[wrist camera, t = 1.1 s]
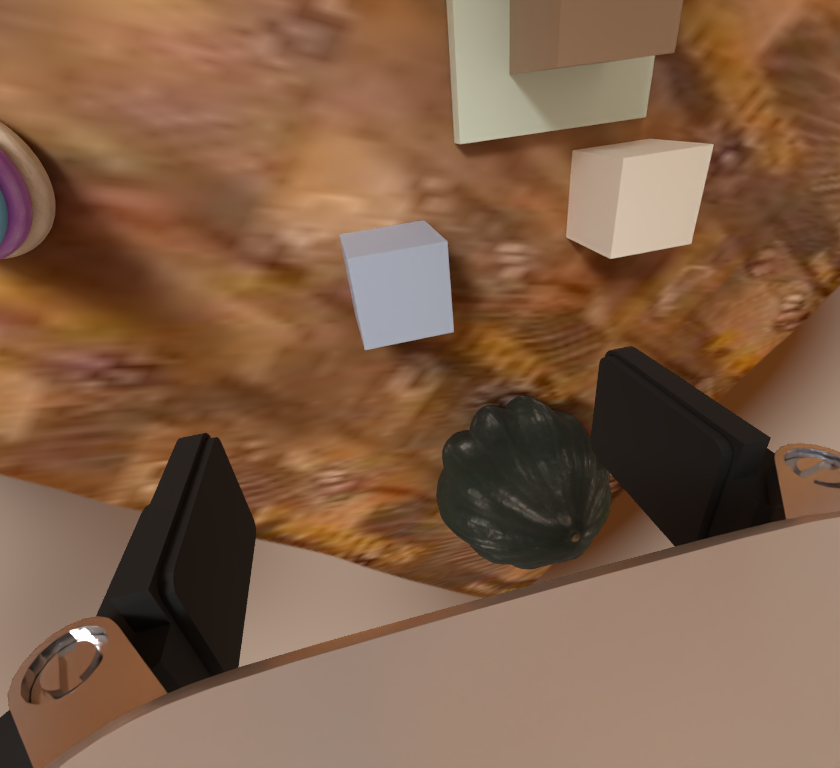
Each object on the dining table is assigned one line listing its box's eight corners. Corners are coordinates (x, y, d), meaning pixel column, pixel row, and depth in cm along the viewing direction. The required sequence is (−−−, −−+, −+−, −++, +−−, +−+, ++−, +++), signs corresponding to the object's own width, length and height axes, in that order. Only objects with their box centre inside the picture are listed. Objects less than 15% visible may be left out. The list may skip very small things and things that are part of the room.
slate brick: (339, 234, 30) (346, 258, 26) (423, 220, 31) (447, 241, 26) (355, 314, 34) (364, 350, 29) (431, 299, 35) (453, 332, 30)
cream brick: (571, 150, 31) (623, 158, 26) (649, 138, 32) (713, 144, 27) (565, 237, 34) (610, 258, 29) (636, 224, 35) (691, 243, 30)
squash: (506, 568, 46) (644, 612, 33) (386, 527, 39) (501, 562, 27) (535, 439, 51) (667, 435, 38) (432, 383, 44) (549, 356, 32)
